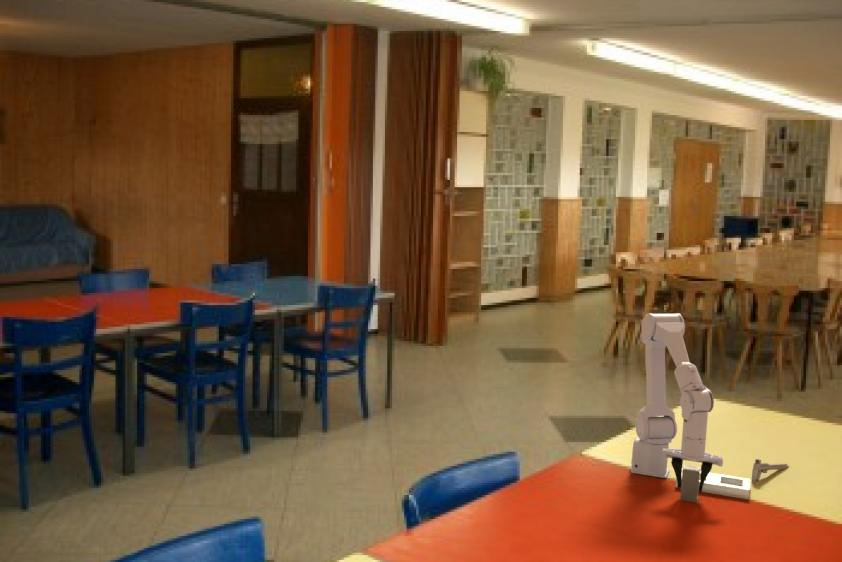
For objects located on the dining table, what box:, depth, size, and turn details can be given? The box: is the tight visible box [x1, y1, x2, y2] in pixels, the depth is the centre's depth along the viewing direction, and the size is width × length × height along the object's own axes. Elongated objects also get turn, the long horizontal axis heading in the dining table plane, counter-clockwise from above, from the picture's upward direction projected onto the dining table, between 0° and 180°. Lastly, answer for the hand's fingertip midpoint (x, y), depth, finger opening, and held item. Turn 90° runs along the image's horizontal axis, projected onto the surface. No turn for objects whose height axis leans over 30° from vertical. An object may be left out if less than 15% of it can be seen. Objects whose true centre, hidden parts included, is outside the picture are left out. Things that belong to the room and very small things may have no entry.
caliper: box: [751, 458, 790, 483], centre depth 243 cm, size 20×1×6 cm, turn 133°
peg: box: [679, 464, 701, 504], centre depth 223 cm, size 4×4×8 cm
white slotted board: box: [675, 467, 752, 500], centre depth 231 cm, size 18×9×2 cm, turn 68°
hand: (689, 488), depth 223 cm, fingers open, 4 cm apart
